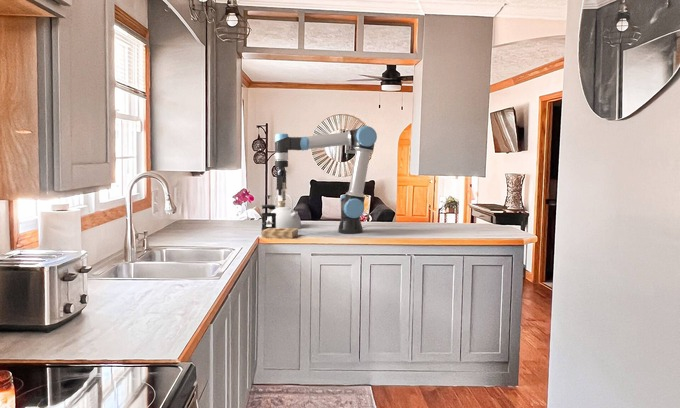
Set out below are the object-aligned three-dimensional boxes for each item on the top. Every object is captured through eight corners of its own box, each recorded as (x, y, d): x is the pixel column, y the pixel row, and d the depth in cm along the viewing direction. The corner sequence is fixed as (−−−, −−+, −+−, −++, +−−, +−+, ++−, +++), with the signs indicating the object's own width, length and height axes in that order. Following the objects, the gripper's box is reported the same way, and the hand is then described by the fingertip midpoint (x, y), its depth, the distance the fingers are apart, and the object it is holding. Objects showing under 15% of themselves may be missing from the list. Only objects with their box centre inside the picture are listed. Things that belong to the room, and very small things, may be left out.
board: (298, 235, 333) (297, 228, 333) (292, 238, 319) (291, 231, 319) (268, 234, 336) (268, 227, 336) (261, 238, 322) (261, 231, 322)
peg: (286, 206, 327) (286, 182, 326) (284, 207, 323) (284, 183, 321) (278, 206, 328) (278, 182, 327) (276, 207, 323) (276, 182, 322)
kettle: (310, 227, 364) (310, 193, 362) (284, 231, 348) (283, 195, 346) (285, 224, 382) (285, 191, 380) (259, 227, 366) (258, 193, 363)
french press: (270, 234, 332) (270, 196, 330) (257, 233, 336) (257, 195, 334) (281, 232, 343) (281, 195, 341) (268, 231, 347) (268, 194, 345)
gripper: (279, 160, 332) (279, 199, 334) (270, 160, 315) (270, 201, 317) (291, 160, 331) (291, 199, 333) (283, 160, 314) (283, 201, 316)
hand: (281, 200), depth 325 cm, fingers closed on peg, 5 cm apart
